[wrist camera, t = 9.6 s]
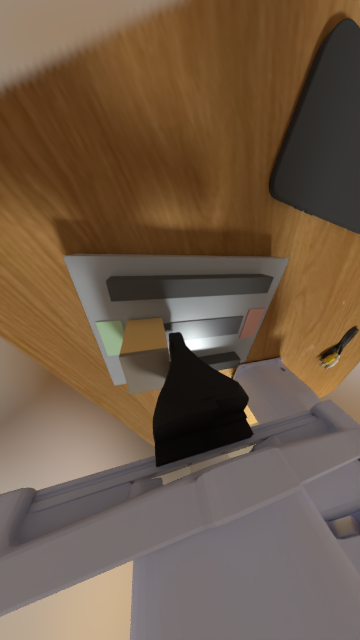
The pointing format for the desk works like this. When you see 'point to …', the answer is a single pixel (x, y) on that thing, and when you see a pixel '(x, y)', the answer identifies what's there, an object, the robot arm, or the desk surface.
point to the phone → (325, 136)
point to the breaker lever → (144, 355)
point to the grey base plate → (173, 302)
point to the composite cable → (337, 349)
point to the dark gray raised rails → (190, 295)
